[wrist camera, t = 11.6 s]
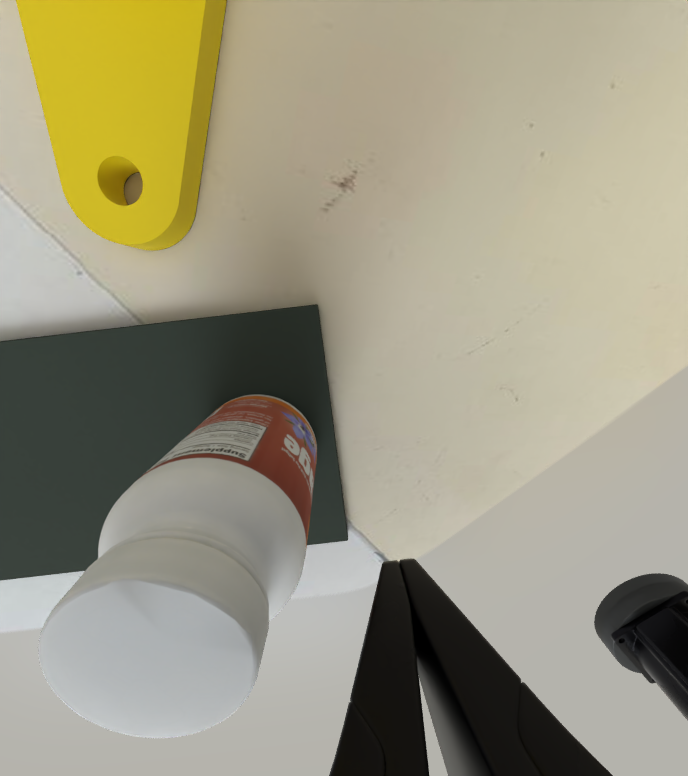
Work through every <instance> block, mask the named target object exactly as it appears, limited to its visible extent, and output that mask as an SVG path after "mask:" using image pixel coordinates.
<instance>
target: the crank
mask: <svg viewBox="0 0 688 776" xmlns="http://www.w3.org/2000/svg"><path fill="white" fill-rule="evenodd" d="M16 2H17V7H18V11H19V15H20V19H21V23H22V27H23V31H24V35H25V39H26V43H27V47H28V51H29V55H30V59H31V63H32V67H33V71H34V75H35V79H36V83H37V88H38V92H39V96H40V100H41V104H42V108H43V112H44V116H45V120H46V124H47V128H48V132H49V136H50V140H51V144H52V148H53V152H54V156H55V160H56V164H57V169H58V173H59V177H60V181H61V185H62V189H63V192H64V194H65V197H66V199H67V201H68V203H69V205H70V207H71V208H72V210H73V211H74V213H75V214H76V215H77V217H78V218H79V219H80V220H81V221H82V222H83V223H84V224H85V225H86V226H87V227H88V228H89V229H90V230H92V231H93V232H94V233H96V234H97V235H99V236H101V237H103V238H105V239H107V240H109V241H112V242H115V243H119V244H123V245H127V246H131V247H134V248H138V249H143V250H162V249H166V248H168V247H171V246H173V245H175V244H176V243H178V242H179V241H180V240H181V239H182V238H183V237H184V236H185V235H186V234H187V233H188V231H189V230H190V228H191V226H192V224H193V221H194V218H195V214H196V207H197V200H198V193H199V186H200V180H201V173H202V166H203V159H204V152H205V145H206V138H207V132H208V125H209V118H210V111H211V104H212V97H213V91H214V84H215V77H216V70H217V63H218V56H219V50H220V43H221V36H222V29H223V22H224V15H225V9H226V2H227V0H16ZM136 172H140V174H141V177H142V182H143V189H142V193H141V196H140V198H139V199H138V200H137V201H136V202H135V203H133V204H131V205H128V204H127V202H126V200H125V197H124V184H125V181H126V180H127V178H128V177H129V176H130V175H132V174H133V173H136Z"/></svg>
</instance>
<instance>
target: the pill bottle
mask: <svg viewBox="0 0 688 776" xmlns="http://www.w3.org/2000/svg"><path fill="white" fill-rule="evenodd" d="M316 460H317V444H316V438H315V435H314V432H313V430H312V428H311V426H310V424H309V423H308V421H307V419H306V418H305V417H304V416H303V414H302V413H301V412H300V411H299V410H297V409H296V408H295V407H294V406H292V405H291V404H289V403H288V402H286V401H284V400H282V399H279V398H276V397H273V396H268V395H259V394H254V395H245V396H241V397H238V398H235V399H232V400H230V401H228V402H226V403H225V404H223V405H222V406H220V407H219V408H218V409H217V410H215V411H214V412H213V413H212V414H211V415H210V416H209V417H208V418H207V419H205V420H204V421H203V422H202V423H201V424H200V425H199V426H197V427H196V428H195V429H194V430H193V431H192V432H191V433H190V434H189V435H187V436H186V437H185V438H184V439H183V440H182V441H181V442H180V443H179V444H177V445H176V446H175V447H174V448H173V449H172V450H171V451H170V452H168V453H167V454H166V455H165V456H164V457H163V458H162V459H161V460H159V461H158V462H157V463H156V464H155V465H154V466H153V467H151V468H150V469H149V470H148V471H147V472H146V473H145V474H143V475H142V476H141V477H140V478H139V479H138V480H137V481H136V482H134V483H133V484H132V486H131V487H130V488H129V489H128V490H126V491H125V492H124V493H123V494H122V496H121V497H120V498H119V499H118V500H117V502H116V503H115V504H114V506H113V507H112V509H111V510H110V512H109V514H108V516H107V518H106V520H105V522H104V525H103V528H102V531H101V534H100V539H99V546H98V559H97V560H96V561H95V562H94V563H93V564H91V565H90V566H89V567H88V568H87V570H86V571H85V572H84V573H83V575H82V576H81V577H80V578H79V580H78V581H77V582H76V583H75V584H74V585H73V586H72V588H71V589H70V590H69V591H68V592H67V593H66V595H65V596H64V597H63V598H62V599H61V600H60V601H59V603H58V604H57V605H56V606H55V608H54V609H53V610H52V612H51V613H50V615H49V616H48V618H47V620H46V622H45V624H44V626H43V628H42V631H41V634H40V638H39V649H38V652H39V663H40V666H41V669H42V671H43V674H44V676H45V678H46V681H47V682H48V684H49V685H50V687H51V689H52V690H53V691H54V692H55V694H56V695H57V696H58V697H59V698H60V699H61V700H62V701H63V702H64V703H65V704H66V705H67V706H68V707H69V708H70V709H72V710H73V711H74V712H75V713H77V714H78V715H80V716H81V717H83V718H84V719H86V720H88V721H90V722H92V723H95V724H97V725H99V726H101V727H103V728H105V729H108V730H112V731H114V732H117V733H122V734H126V735H131V736H138V737H145V738H173V737H180V736H185V735H191V734H194V733H197V732H200V731H204V730H206V729H208V728H210V727H213V726H215V725H217V724H218V723H220V722H222V721H224V720H225V719H227V718H228V717H230V716H231V715H232V714H233V713H234V712H235V711H236V710H237V709H238V708H239V707H240V706H241V705H242V704H243V703H244V701H245V700H246V699H247V697H248V696H249V694H250V692H251V690H252V688H253V686H254V684H255V681H256V679H257V675H258V671H259V667H260V663H261V658H262V654H263V650H264V645H265V641H266V637H267V633H268V627H269V621H270V620H272V619H273V618H274V617H275V616H276V615H277V614H278V613H279V612H280V611H281V610H282V609H283V608H284V606H285V605H286V603H287V602H288V601H289V599H290V598H291V596H292V594H293V593H294V591H295V589H296V587H297V585H298V582H299V580H300V577H301V573H302V569H303V564H304V559H305V553H306V547H307V538H308V530H309V522H310V514H311V505H312V495H313V486H314V477H315V469H316Z"/></svg>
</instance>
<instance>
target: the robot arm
mask: <svg viewBox="0 0 688 776" xmlns="http://www.w3.org/2000/svg"><path fill="white" fill-rule="evenodd" d="M611 639H612V640H613V641H614V642H615V644H616V645H617V646H618V647H619V648H620V649H621V650H622V652H623V653H624V654H625V655H626V656H627V657H628V658H629V660H630V661H631V662H632V663H633V664H634V665H635V666H636V668H637V669H638V670H639V671H640V672H641V673H642V674H643V675H644V677H645V678H646V679H647V680H648V681H649V682H650V683H657V685H658V686H659V687H660V688H661V689H662V690H663V692H664V693H665V694H666V695H667V696H668V698H669V699H670V700H671V701H672V702H673V704H674V705H675V706H676V707H677V708H678V710H679V711H680V712H681V713H682V714H683V715H684V717H685V718H686V719H687V720H688V591H682V592H680V593H678V594H676V595H675V596H673V597H671V598H670V599H668V600H666V601H665V602H663V603H661V604H660V605H658V606H656V607H655V608H653V609H651V610H650V611H648V612H646V613H645V614H643V615H641V616H640V617H638V618H636V619H634V620H633V621H631V622H629V623H628V624H626V625H624V626H623V627H621V628H619V629H618V630H616V631H614V632H613V633H612V634H611ZM418 675H419V676H418ZM419 678H420V681H421V685H422V688H423V692H424V695H425V699H426V702H427V705H428V709H429V712H430V715H431V719H432V722H433V726H434V729H435V732H436V736H437V739H438V742H439V746H440V749H441V753H442V756H443V759H444V763H445V766H446V769H447V773H448V776H613V775H612V774H610V772H609V771H608V770H606V768H604V767H603V766H602V765H601V764H600V763H599V762H598V761H597V760H596V759H595V758H594V757H593V756H592V755H591V754H590V753H589V752H588V751H587V750H586V749H585V747H584V746H582V744H580V742H578V741H577V739H575V738H574V737H573V736H572V735H571V733H570V732H569V731H568V730H567V729H566V728H565V727H564V726H563V725H562V724H561V723H560V722H559V721H558V720H557V719H556V717H555V716H554V715H553V714H552V713H551V712H550V711H549V710H548V709H547V708H546V707H545V705H544V704H543V703H542V702H541V701H540V700H539V699H538V698H537V697H536V695H535V694H534V693H533V692H532V691H531V690H530V689H529V687H528V686H527V685H526V684H525V683H523V682H522V683H521V679H520V677H519V676H518V675H517V674H516V673H515V672H514V671H513V670H512V668H510V666H509V665H508V664H507V663H506V662H505V660H504V659H503V658H502V657H501V656H500V655H499V654H498V653H497V652H496V650H495V649H494V648H493V647H492V646H491V645H490V644H489V642H488V641H487V640H486V639H485V638H484V637H483V636H482V634H481V633H480V632H479V631H478V630H477V629H476V628H475V627H474V625H473V624H472V623H471V622H470V621H469V620H468V619H467V617H466V616H465V615H464V614H463V613H462V612H461V611H460V610H459V609H458V607H457V606H456V605H455V604H454V603H453V602H452V601H451V599H450V598H449V597H448V596H447V595H446V594H445V593H444V592H443V590H442V589H441V588H440V587H439V586H438V585H437V584H436V582H435V581H434V580H433V579H432V578H431V577H430V576H429V575H428V574H427V572H426V571H425V570H424V569H423V568H422V567H421V565H420V564H419V563H418V562H417V561H416V560H415V559H403V560H400V561H399V562H398V561H397V560H395V561H386V562H383V564H382V567H381V571H380V575H379V580H378V584H377V588H376V592H375V596H374V601H373V605H372V609H371V613H370V617H369V622H368V626H367V630H366V634H365V639H364V643H363V647H362V651H361V655H360V660H359V664H358V668H357V672H356V676H355V681H354V685H353V689H352V693H351V698H350V701H351V702H350V703H349V705H348V709H347V713H346V717H345V721H344V725H343V729H342V733H341V737H340V740H339V744H338V748H337V752H336V755H335V759H334V762H333V765H332V768H331V772H330V775H329V776H429V769H428V759H427V750H426V741H425V731H424V722H423V713H422V704H421V694H420V686H419Z"/></svg>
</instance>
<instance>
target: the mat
mask: <svg viewBox="0 0 688 776" xmlns="http://www.w3.org/2000/svg"><path fill="white" fill-rule="evenodd" d="M254 394H259V395H268V396H273V397H276V398H279V399H282V400H284V401H286V402H288V403H289V404H291V405H292V406H294V407H295V408H296V409H297V410H299V411H300V412H301V413H302V414H303V416H304V417H305V418H306V419H307V421H308V423H309V424H310V426H311V428H312V430H313V432H314V435H315V438H316V444H317V460H316V469H315V477H314V486H313V495H312V505H311V514H310V522H309V530H308V538H307V545H313V544H321V543H330V542H339V541H347V540H348V532H347V524H346V517H345V509H344V501H343V494H342V486H341V478H340V471H339V463H338V455H337V448H336V440H335V432H334V425H333V417H332V409H331V402H330V394H329V386H328V379H327V371H326V363H325V356H324V348H323V340H322V333H321V325H320V317H319V310H318V305H308V306H300V307H291V308H283V309H274V310H266V311H257V312H248V313H240V314H231V315H223V316H214V317H206V318H197V319H189V320H180V321H171V322H163V323H154V324H146V325H137V326H129V327H120V328H112V329H103V330H95V331H86V332H77V333H69V334H60V335H52V336H43V337H35V338H26V339H18V340H9V341H1V342H0V580H8V579H17V578H25V577H34V576H43V575H51V574H60V573H69V572H77V571H86V570H87V568H88V567H89V566H90V565H91V564H93V563H94V562H95V561H96V560H97V559H98V546H99V539H100V534H101V531H102V528H103V525H104V522H105V520H106V518H107V516H108V514H109V512H110V510H111V509H112V507H113V506H114V504H115V503H116V502H117V500H118V499H119V498H120V497H121V496H122V494H123V493H124V492H125V491H126V490H128V489H129V488H130V487H131V486H132V484H133V483H134V482H136V481H137V480H138V479H139V478H140V477H141V476H142V475H143V474H145V473H146V472H147V471H148V470H149V469H150V468H151V467H153V466H154V465H155V464H156V463H157V462H158V461H159V460H161V459H162V458H163V457H164V456H165V455H166V454H167V453H168V452H170V451H171V450H172V449H173V448H174V447H175V446H176V445H177V444H179V443H180V442H181V441H182V440H183V439H184V438H185V437H186V436H187V435H189V434H190V433H191V432H192V431H193V430H194V429H195V428H196V427H197V426H199V425H200V424H201V423H202V422H203V421H204V420H205V419H207V418H208V417H209V416H210V415H211V414H212V413H213V412H214V411H215V410H217V409H218V408H219V407H220V406H222V405H223V404H225V403H226V402H228V401H230V400H232V399H235V398H238V397H241V396H245V395H254Z"/></svg>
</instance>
